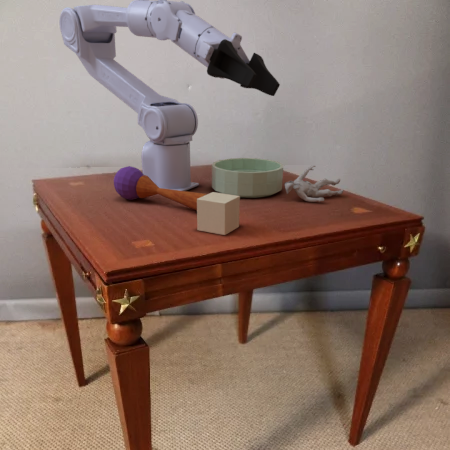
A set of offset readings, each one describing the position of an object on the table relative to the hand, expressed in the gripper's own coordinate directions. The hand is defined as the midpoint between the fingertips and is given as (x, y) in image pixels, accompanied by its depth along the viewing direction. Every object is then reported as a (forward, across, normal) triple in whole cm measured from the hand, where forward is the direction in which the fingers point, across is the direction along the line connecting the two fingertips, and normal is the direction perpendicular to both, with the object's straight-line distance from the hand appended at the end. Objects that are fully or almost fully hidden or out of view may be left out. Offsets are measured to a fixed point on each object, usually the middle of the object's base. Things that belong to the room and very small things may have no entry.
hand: (264, 85), depth 80 cm
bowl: (-1, +14, +20) cm, 24 cm away
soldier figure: (+11, +17, +14) cm, 24 cm away
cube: (+10, -10, +20) cm, 24 cm away
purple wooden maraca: (-5, -5, +26) cm, 27 cm away
